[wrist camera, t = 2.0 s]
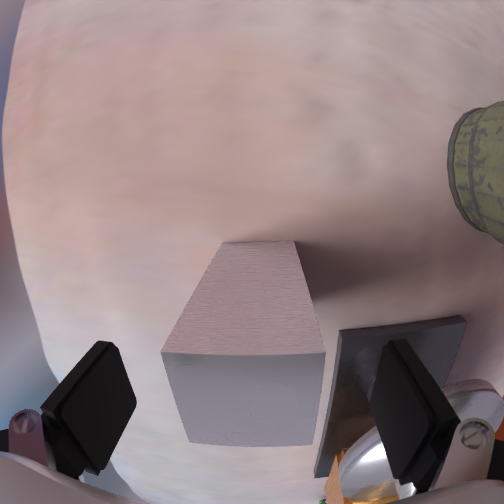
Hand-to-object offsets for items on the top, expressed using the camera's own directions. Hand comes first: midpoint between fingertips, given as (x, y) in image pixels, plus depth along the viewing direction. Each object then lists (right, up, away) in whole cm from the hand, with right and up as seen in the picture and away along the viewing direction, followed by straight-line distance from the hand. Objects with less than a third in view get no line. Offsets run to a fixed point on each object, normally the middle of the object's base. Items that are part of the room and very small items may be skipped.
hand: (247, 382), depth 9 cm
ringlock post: (+11, -10, +11) cm, 19 cm away
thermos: (+16, +10, +5) cm, 20 cm away
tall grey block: (+1, +3, +8) cm, 8 cm away
